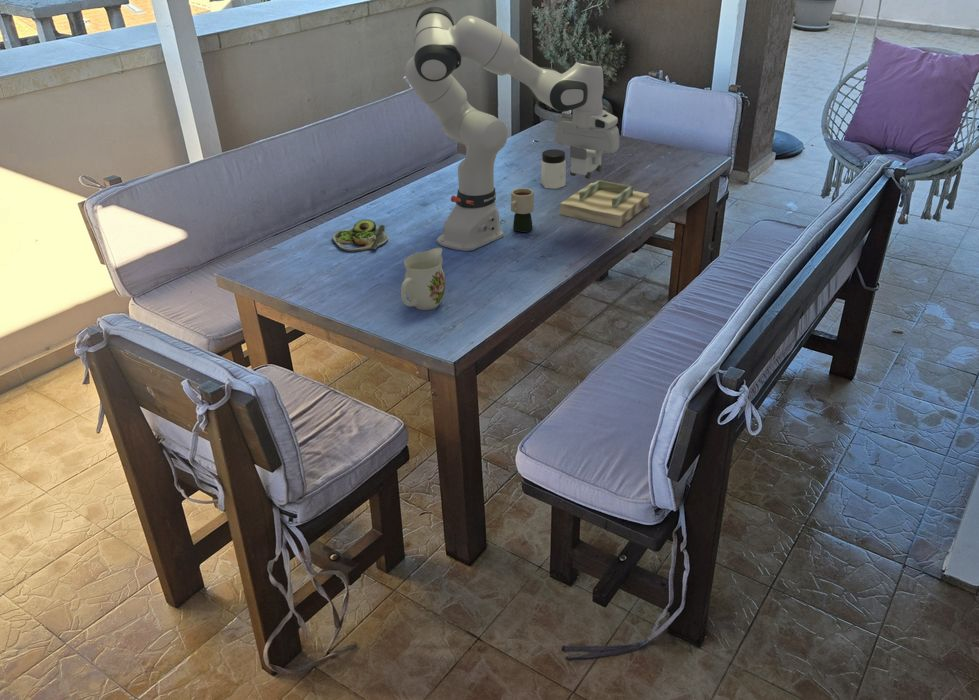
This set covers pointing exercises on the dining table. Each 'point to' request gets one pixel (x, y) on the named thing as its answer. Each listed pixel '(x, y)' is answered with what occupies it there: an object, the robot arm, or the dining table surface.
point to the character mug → (522, 208)
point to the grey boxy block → (583, 162)
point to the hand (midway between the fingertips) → (586, 162)
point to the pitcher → (424, 280)
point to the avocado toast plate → (361, 236)
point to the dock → (605, 203)
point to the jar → (553, 169)
